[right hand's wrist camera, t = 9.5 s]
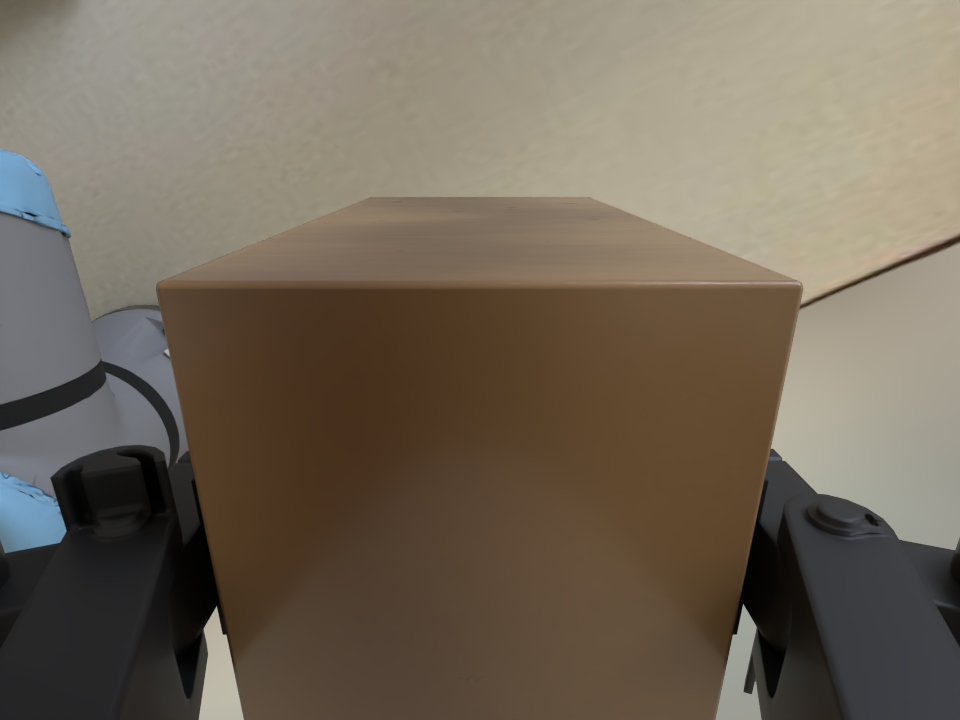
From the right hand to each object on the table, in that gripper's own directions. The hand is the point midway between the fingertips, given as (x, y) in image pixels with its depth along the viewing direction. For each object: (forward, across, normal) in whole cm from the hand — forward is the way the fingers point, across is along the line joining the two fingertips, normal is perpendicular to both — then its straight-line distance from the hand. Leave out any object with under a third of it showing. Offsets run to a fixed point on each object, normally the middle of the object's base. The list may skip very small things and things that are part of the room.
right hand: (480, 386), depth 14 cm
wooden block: (+3, 0, 0) cm, 3 cm away
